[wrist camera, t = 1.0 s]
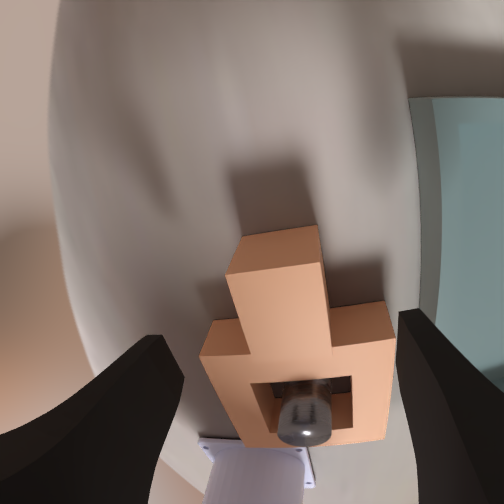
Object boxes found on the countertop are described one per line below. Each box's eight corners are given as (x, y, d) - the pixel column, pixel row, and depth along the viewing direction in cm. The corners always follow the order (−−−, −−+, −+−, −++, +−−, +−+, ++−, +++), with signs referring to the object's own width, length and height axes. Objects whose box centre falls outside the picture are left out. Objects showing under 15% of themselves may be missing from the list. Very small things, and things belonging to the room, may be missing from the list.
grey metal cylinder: (332, 383, 16) (332, 445, 12) (289, 387, 16) (282, 447, 13) (328, 353, 15) (329, 419, 11) (281, 357, 15) (272, 422, 12)
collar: (380, 405, 16) (385, 446, 14) (252, 415, 18) (244, 454, 16) (380, 215, 11) (400, 250, 9) (186, 245, 13) (157, 283, 11)
